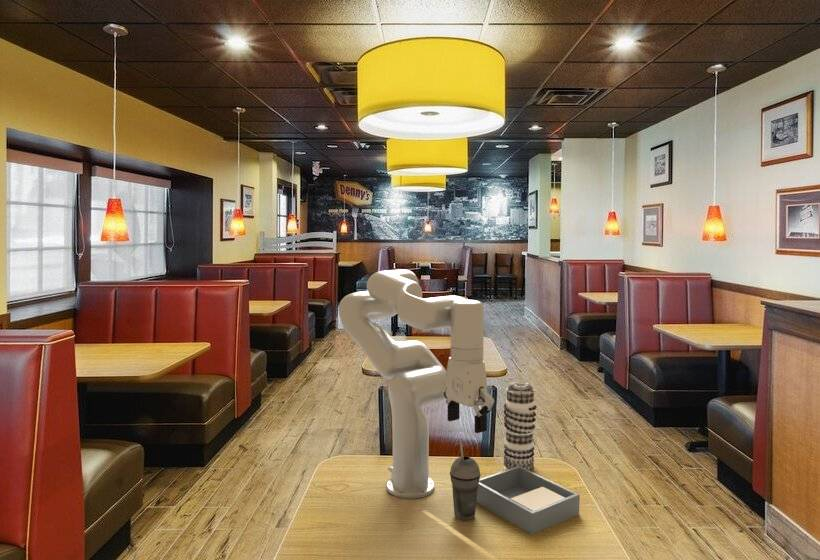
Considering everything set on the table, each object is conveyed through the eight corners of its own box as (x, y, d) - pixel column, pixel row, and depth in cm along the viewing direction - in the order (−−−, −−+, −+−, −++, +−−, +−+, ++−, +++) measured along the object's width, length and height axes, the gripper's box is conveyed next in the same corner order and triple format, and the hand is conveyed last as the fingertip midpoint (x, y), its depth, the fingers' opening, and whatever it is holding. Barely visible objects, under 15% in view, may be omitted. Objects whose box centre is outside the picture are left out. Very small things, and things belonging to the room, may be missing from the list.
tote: (473, 503, 151) (473, 481, 151) (518, 487, 160) (519, 465, 160) (531, 539, 135) (532, 513, 134) (578, 518, 144) (579, 494, 143)
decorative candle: (525, 461, 177) (527, 378, 174) (541, 474, 168) (543, 387, 166) (497, 465, 175) (498, 380, 172) (511, 478, 166) (513, 390, 163)
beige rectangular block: (510, 514, 144) (510, 498, 144) (542, 501, 150) (542, 486, 150) (535, 528, 137) (535, 512, 137) (567, 515, 144) (567, 499, 143)
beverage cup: (478, 529, 139) (479, 446, 137) (447, 526, 140) (447, 443, 138) (481, 514, 146) (482, 434, 144) (451, 511, 148) (452, 432, 145)
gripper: (431, 349, 144) (431, 419, 145) (479, 363, 129) (479, 440, 131) (455, 345, 148) (455, 413, 150) (505, 358, 134) (504, 433, 135)
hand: (466, 425), depth 140 cm, fingers open, 9 cm apart
